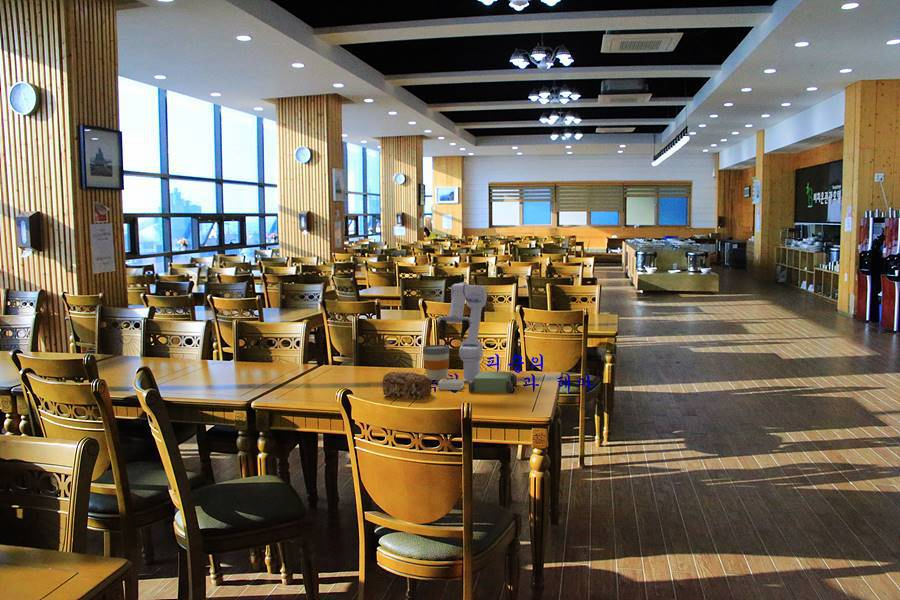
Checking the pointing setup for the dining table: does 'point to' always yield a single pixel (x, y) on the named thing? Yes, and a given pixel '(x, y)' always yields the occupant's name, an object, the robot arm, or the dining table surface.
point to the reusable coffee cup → (436, 361)
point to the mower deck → (493, 382)
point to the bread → (406, 385)
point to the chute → (450, 384)
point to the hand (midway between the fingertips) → (452, 337)
